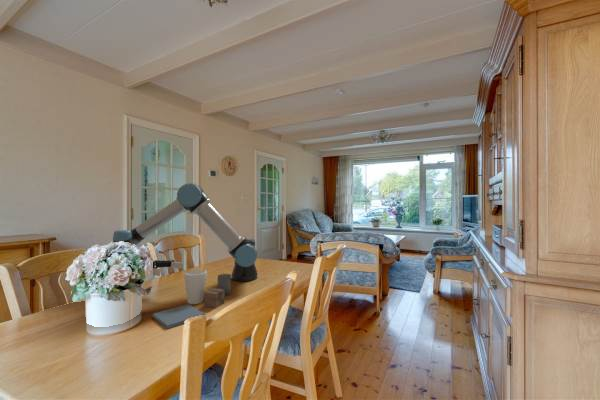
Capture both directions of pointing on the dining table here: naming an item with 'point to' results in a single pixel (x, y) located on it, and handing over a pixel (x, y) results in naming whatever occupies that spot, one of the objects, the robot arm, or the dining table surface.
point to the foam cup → (195, 285)
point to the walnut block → (214, 297)
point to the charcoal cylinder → (224, 283)
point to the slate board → (176, 315)
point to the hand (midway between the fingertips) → (171, 269)
